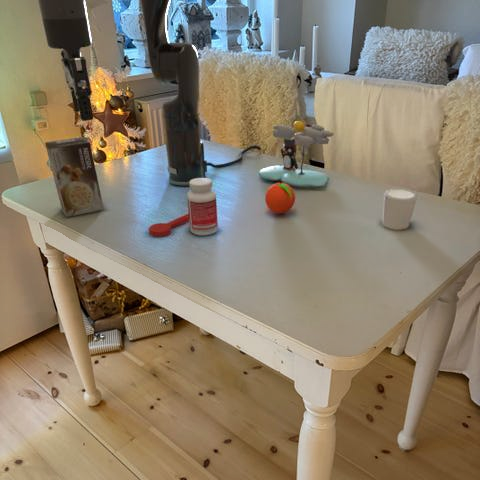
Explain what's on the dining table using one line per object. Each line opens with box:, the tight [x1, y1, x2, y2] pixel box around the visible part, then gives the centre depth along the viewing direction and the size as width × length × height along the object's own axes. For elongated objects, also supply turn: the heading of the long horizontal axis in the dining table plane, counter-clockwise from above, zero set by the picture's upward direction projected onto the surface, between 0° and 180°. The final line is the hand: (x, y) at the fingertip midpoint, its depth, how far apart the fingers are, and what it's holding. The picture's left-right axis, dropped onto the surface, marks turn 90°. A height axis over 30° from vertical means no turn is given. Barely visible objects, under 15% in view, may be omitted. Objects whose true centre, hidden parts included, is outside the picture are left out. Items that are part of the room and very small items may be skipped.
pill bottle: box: [186, 177, 219, 236], centre depth 105 cm, size 6×6×11 cm
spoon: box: [148, 212, 189, 238], centre depth 111 cm, size 17×5×1 cm, turn 141°
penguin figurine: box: [258, 120, 334, 189], centre depth 129 cm, size 20×11×15 cm, turn 53°
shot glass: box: [382, 188, 418, 231], centre depth 107 cm, size 7×7×7 cm
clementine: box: [264, 182, 296, 214], centre depth 113 cm, size 8×7×7 cm
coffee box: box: [44, 136, 105, 218], centre depth 115 cm, size 9×6×16 cm
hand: (83, 115), depth 93 cm, fingers open, 8 cm apart
